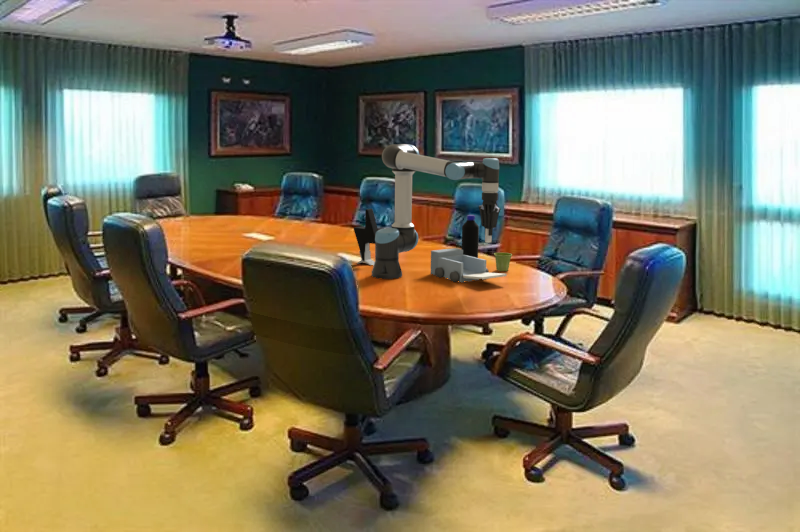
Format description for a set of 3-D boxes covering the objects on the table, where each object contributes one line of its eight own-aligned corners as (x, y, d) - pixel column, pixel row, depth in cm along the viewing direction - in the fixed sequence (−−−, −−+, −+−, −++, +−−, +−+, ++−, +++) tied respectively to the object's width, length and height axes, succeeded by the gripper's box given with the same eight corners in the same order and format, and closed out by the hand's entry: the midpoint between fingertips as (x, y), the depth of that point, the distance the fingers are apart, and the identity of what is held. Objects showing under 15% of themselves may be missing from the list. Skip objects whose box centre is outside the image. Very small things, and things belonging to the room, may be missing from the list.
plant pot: (515, 270, 370) (515, 254, 368) (504, 272, 363) (505, 256, 362) (500, 267, 376) (500, 251, 375) (489, 270, 369) (490, 254, 368)
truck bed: (456, 283, 338) (457, 258, 335) (426, 274, 357) (427, 251, 355) (489, 278, 349) (490, 254, 347) (458, 270, 368) (459, 247, 366)
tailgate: (461, 278, 338) (482, 280, 326) (461, 275, 338) (482, 277, 326) (485, 275, 347) (506, 276, 334) (485, 272, 347) (506, 273, 334)
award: (381, 264, 382) (381, 209, 376) (376, 266, 377) (376, 210, 372) (358, 261, 390) (358, 207, 384) (353, 263, 385) (353, 208, 380)
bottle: (467, 265, 382) (468, 213, 377) (480, 267, 377) (482, 215, 372) (457, 267, 376) (459, 215, 370) (471, 269, 370) (473, 216, 365)
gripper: (505, 192, 324) (503, 243, 328) (486, 190, 334) (485, 239, 339) (493, 193, 320) (491, 244, 324) (474, 191, 330) (473, 241, 335)
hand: (488, 242), depth 331 cm, fingers closed
